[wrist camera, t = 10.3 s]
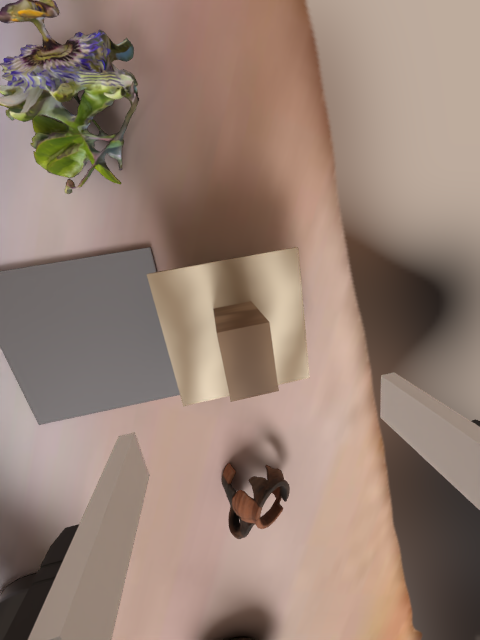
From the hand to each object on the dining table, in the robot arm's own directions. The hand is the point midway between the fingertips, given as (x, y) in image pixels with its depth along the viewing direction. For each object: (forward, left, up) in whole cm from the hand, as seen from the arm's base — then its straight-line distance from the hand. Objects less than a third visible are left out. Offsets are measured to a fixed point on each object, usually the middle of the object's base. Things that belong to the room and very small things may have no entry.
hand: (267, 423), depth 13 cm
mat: (-18, 0, -21) cm, 27 cm away
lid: (0, 0, -15) cm, 15 cm away
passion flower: (-10, +22, -21) cm, 32 cm away
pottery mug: (-2, -29, -21) cm, 36 cm away
